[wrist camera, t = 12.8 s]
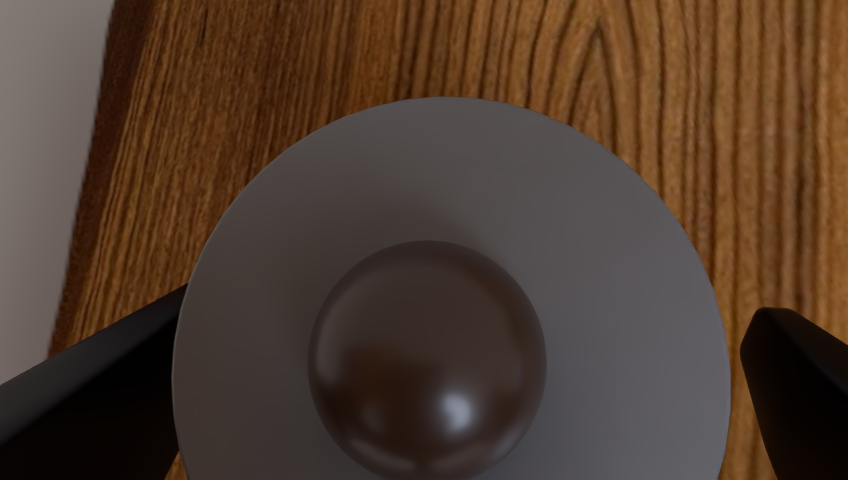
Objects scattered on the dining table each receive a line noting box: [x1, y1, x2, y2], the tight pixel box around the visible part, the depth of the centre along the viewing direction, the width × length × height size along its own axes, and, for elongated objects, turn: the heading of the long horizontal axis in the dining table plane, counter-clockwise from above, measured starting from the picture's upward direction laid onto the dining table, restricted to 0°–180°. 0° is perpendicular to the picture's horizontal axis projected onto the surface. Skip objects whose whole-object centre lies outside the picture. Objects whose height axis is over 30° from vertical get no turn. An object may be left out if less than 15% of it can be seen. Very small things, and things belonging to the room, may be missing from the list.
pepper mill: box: [172, 96, 731, 480], centre depth 9 cm, size 5×5×14 cm
